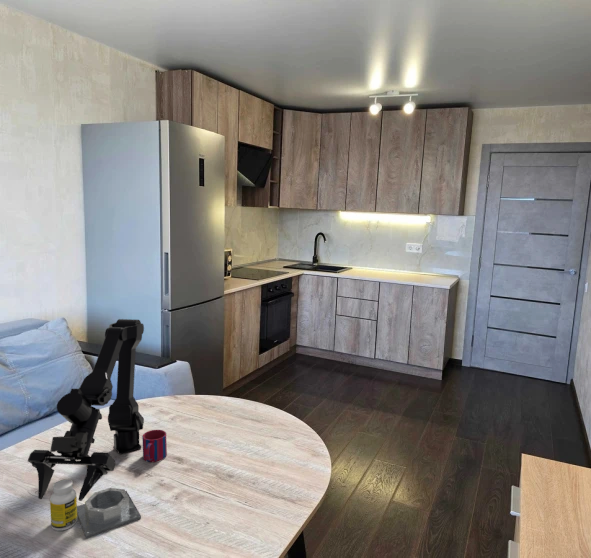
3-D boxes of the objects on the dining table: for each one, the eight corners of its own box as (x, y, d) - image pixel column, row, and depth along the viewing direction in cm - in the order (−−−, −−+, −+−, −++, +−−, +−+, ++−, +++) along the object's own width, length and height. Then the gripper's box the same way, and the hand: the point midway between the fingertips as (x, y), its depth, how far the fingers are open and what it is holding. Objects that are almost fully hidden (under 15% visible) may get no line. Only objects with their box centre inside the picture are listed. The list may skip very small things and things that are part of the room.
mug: (170, 451, 140) (169, 430, 139) (155, 469, 130) (155, 446, 129) (149, 450, 141) (148, 428, 140) (133, 467, 131) (132, 444, 130)
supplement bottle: (67, 533, 104) (65, 492, 102) (45, 529, 105) (43, 489, 103) (82, 517, 109) (80, 478, 108) (61, 514, 110) (59, 476, 109)
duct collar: (126, 493, 119) (126, 479, 118) (140, 518, 109) (140, 503, 108) (75, 509, 112) (74, 495, 111) (86, 538, 102) (85, 522, 102)
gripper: (29, 417, 108) (1, 489, 99) (108, 420, 107) (86, 492, 98) (51, 434, 117) (26, 501, 107) (123, 436, 116) (105, 504, 107)
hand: (59, 499), depth 105 cm, fingers open, 9 cm apart
